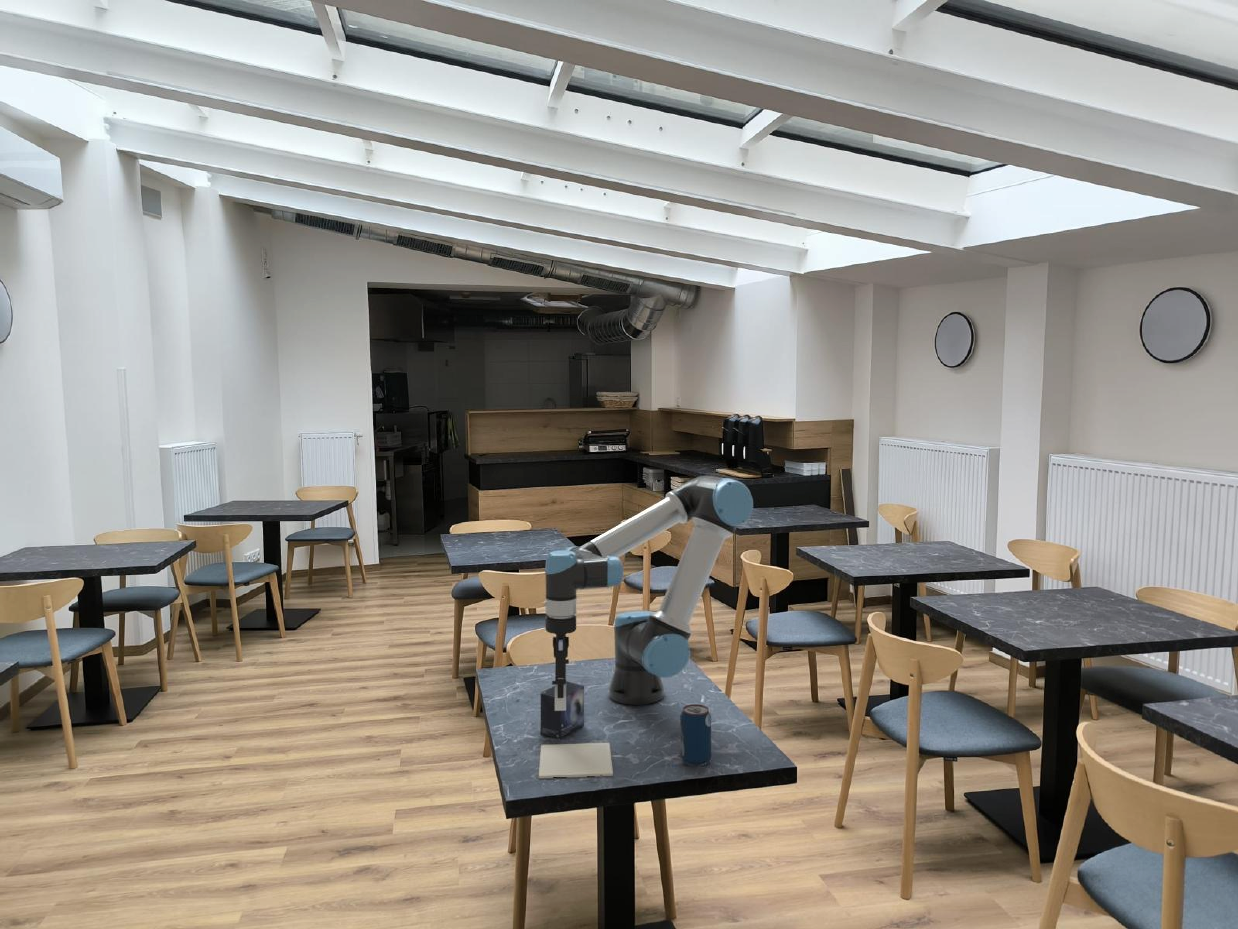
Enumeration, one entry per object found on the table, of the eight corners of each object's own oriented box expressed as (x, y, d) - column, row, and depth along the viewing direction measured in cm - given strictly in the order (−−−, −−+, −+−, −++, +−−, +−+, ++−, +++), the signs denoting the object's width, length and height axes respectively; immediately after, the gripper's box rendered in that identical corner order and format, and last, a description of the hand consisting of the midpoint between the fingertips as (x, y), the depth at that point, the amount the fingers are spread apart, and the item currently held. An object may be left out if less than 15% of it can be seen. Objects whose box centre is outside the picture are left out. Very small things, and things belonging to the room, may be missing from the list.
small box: (561, 740, 200) (560, 697, 200) (539, 734, 204) (538, 692, 203) (585, 725, 209) (585, 684, 208) (564, 720, 213) (564, 680, 212)
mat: (609, 745, 197) (609, 742, 197) (612, 775, 181) (612, 773, 181) (541, 747, 196) (541, 745, 196) (538, 778, 180) (538, 775, 180)
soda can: (717, 760, 188) (717, 708, 187) (697, 770, 184) (697, 717, 183) (693, 751, 193) (693, 701, 192) (674, 761, 188) (673, 709, 187)
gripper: (546, 602, 216) (546, 683, 218) (543, 629, 191) (543, 719, 193) (575, 602, 217) (575, 682, 218) (576, 628, 192) (576, 718, 194)
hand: (560, 700), depth 206 cm, fingers open, 13 cm apart
